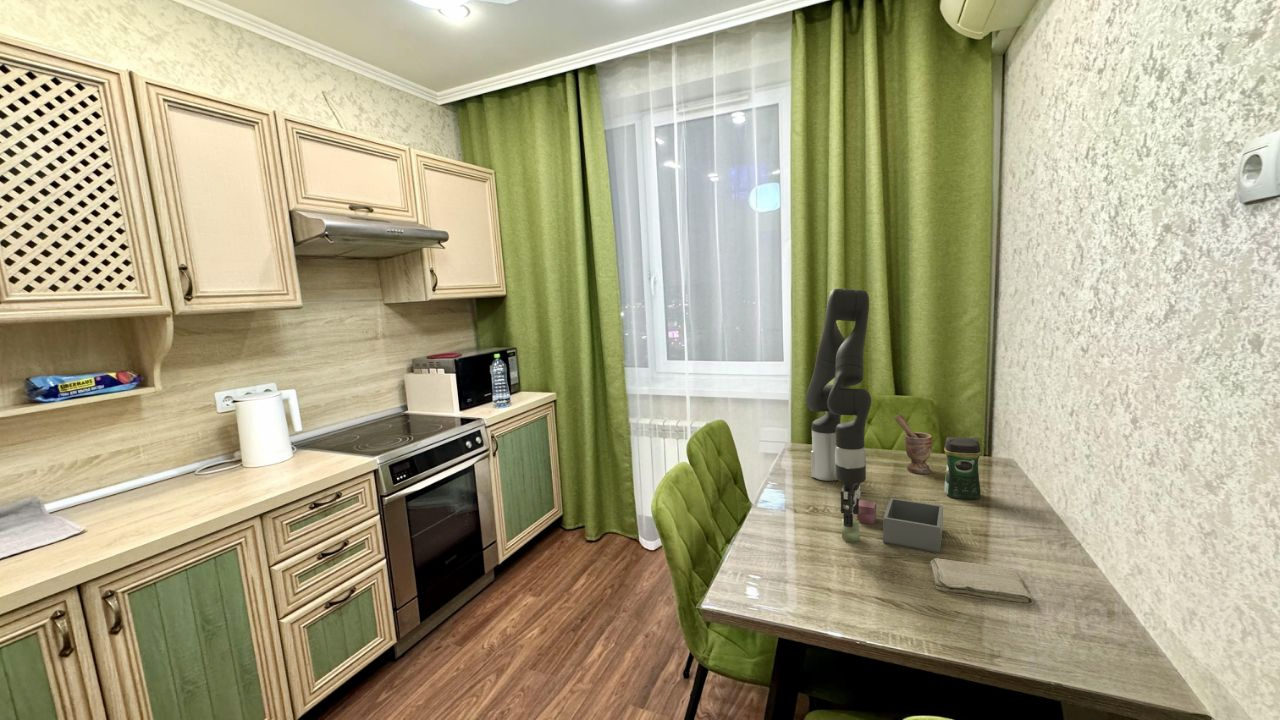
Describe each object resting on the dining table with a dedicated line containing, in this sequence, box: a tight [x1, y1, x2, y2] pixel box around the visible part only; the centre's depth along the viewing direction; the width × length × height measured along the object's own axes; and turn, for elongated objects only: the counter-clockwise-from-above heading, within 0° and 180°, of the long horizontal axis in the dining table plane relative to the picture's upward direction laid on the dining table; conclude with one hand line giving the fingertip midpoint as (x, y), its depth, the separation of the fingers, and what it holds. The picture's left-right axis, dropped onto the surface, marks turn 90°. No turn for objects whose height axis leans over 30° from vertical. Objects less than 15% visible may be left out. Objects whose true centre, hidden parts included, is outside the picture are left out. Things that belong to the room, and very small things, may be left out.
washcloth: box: [929, 557, 1035, 606], centre depth 115 cm, size 12×18×3 cm, turn 67°
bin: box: [882, 497, 944, 555], centre depth 137 cm, size 13×14×7 cm
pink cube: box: [856, 499, 877, 525], centre depth 148 cm, size 4×4×5 cm
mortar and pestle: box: [894, 414, 933, 475], centre depth 181 cm, size 12×9×20 cm
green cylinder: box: [841, 517, 860, 544], centre depth 138 cm, size 4×4×5 cm
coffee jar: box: [943, 436, 982, 500], centre depth 158 cm, size 10×8×19 cm
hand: (851, 519), depth 138 cm, fingers open, 8 cm apart
